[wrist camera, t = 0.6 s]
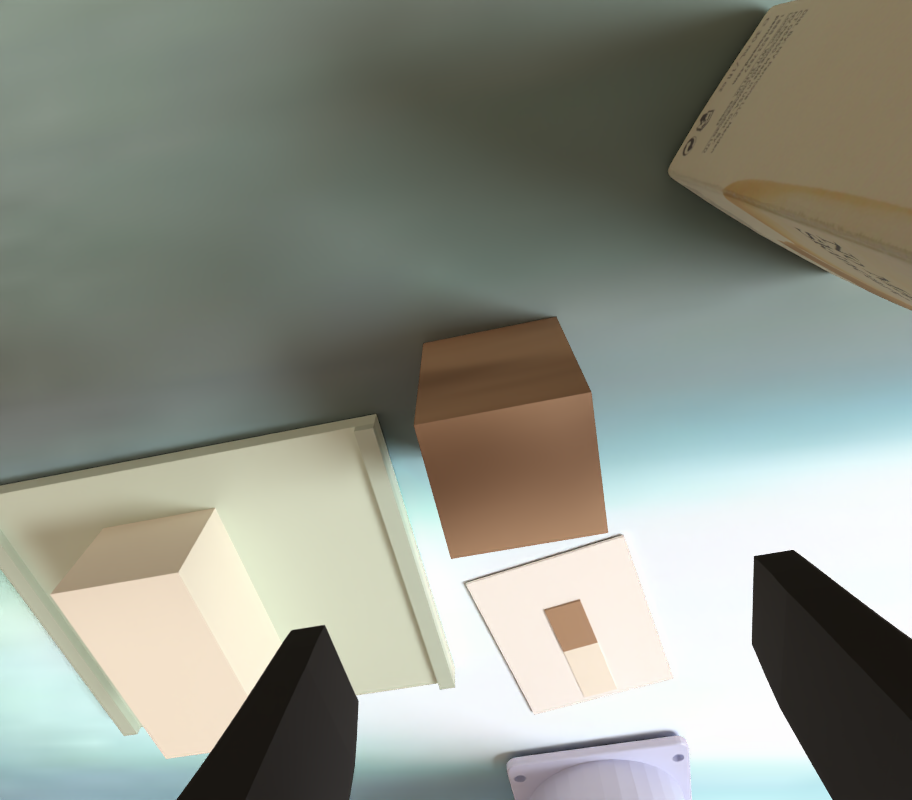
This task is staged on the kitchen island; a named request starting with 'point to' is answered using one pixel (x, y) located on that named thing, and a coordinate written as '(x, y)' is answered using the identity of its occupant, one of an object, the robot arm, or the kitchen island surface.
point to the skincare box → (817, 139)
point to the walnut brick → (509, 439)
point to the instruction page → (573, 625)
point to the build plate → (254, 545)
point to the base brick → (171, 625)
